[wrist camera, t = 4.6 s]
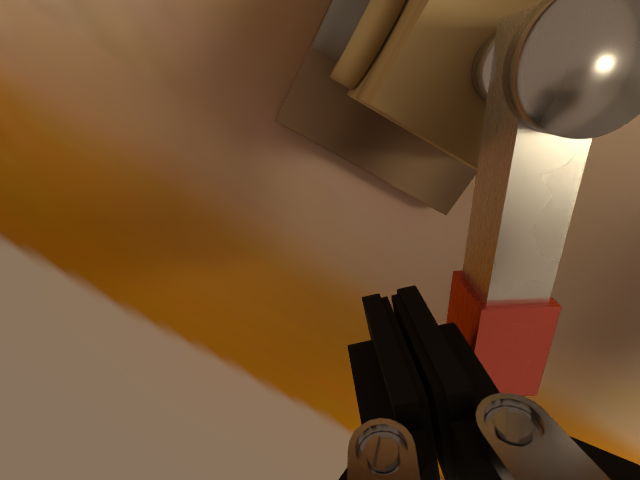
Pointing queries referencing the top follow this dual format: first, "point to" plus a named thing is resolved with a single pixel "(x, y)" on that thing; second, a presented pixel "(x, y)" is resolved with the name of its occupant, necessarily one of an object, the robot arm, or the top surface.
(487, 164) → the valve lever
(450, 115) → the valve
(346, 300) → the top surface
